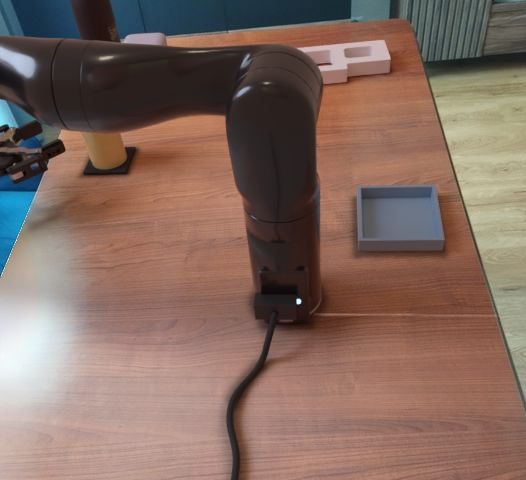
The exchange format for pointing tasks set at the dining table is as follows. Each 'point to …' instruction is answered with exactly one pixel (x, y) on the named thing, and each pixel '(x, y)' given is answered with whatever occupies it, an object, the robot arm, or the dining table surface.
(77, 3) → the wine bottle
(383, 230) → the tray
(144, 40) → the charger
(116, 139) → the cup
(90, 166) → the coaster
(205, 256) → the dining table surface
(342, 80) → the holder
